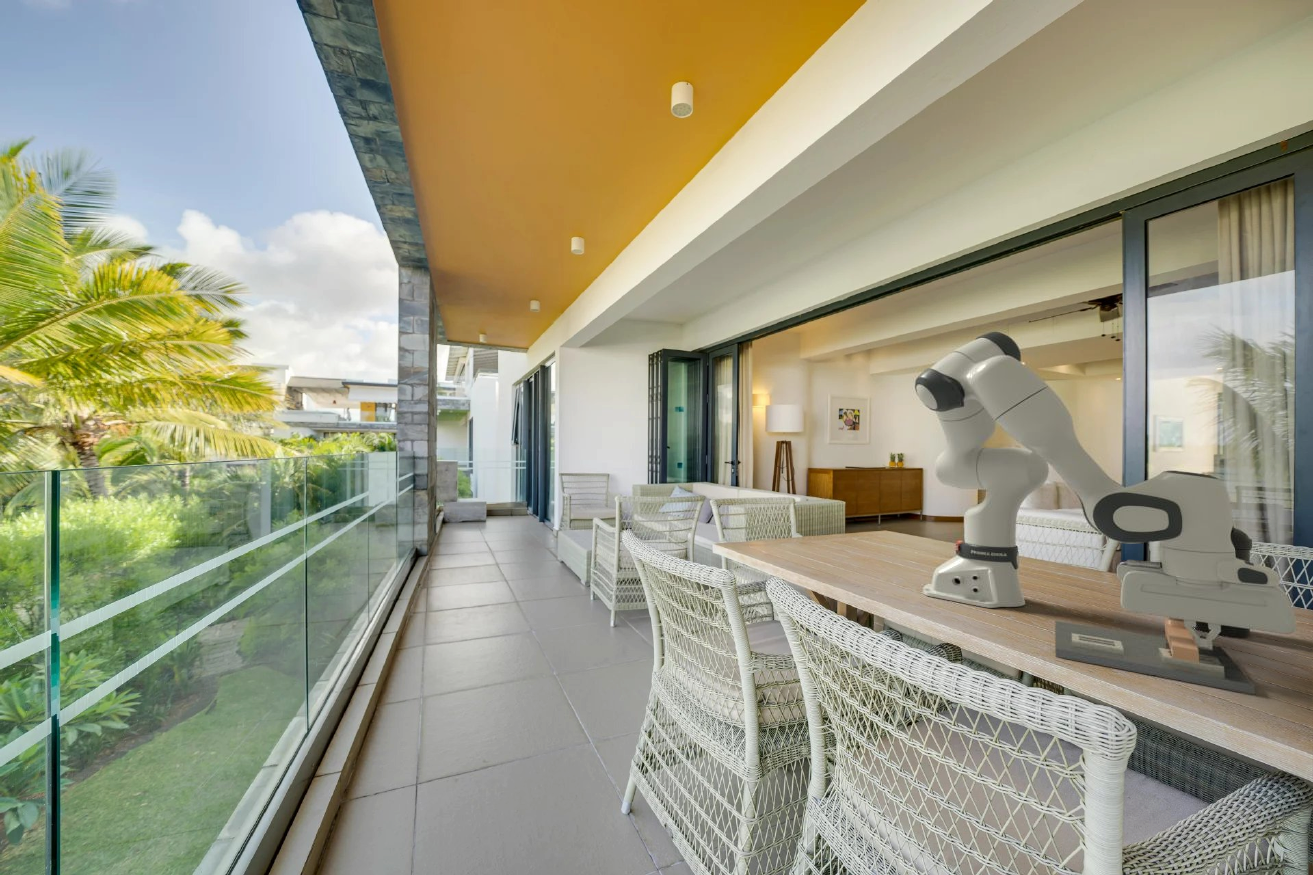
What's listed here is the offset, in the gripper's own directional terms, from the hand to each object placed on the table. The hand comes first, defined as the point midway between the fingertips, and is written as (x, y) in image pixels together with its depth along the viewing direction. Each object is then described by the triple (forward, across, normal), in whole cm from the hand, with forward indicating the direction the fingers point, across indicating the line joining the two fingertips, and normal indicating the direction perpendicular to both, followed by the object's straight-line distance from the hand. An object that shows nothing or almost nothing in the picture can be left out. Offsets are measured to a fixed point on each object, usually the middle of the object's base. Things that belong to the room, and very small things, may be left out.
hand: (1203, 647), depth 86 cm
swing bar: (+2, -3, +3) cm, 4 cm away
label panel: (+4, -8, +2) cm, 9 cm away
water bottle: (+4, +3, +33) cm, 33 cm away
